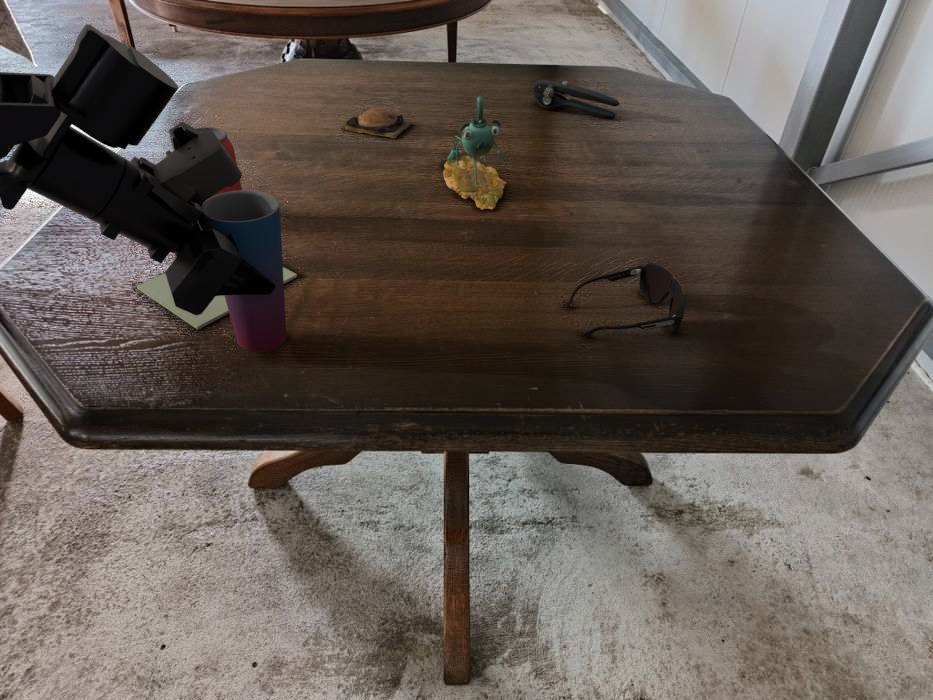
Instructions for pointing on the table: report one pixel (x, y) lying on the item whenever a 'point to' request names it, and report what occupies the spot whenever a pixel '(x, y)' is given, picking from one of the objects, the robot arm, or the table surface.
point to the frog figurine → (475, 163)
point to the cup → (253, 263)
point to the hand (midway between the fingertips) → (264, 273)
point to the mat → (162, 295)
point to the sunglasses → (649, 295)
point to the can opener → (552, 100)
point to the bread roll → (378, 122)
